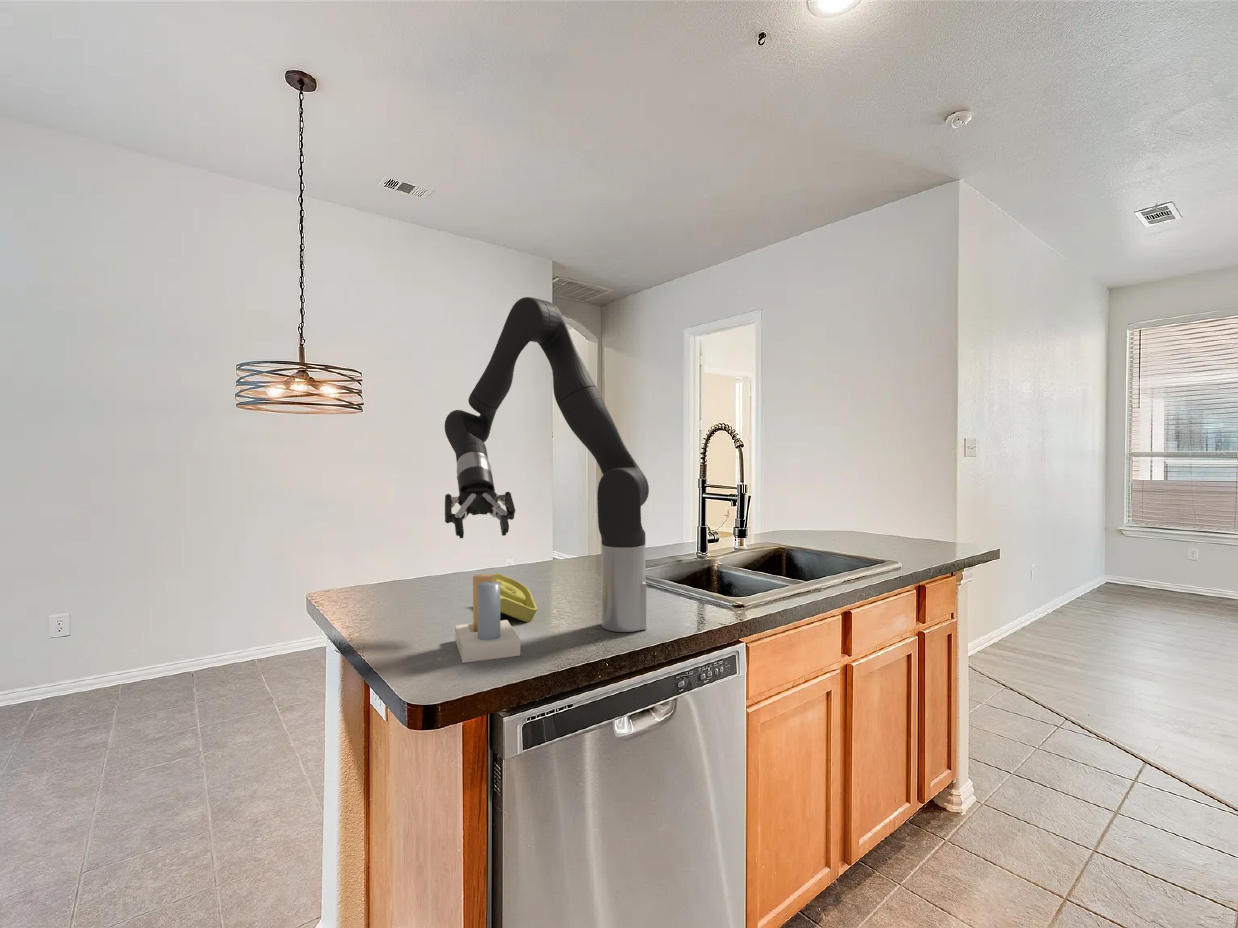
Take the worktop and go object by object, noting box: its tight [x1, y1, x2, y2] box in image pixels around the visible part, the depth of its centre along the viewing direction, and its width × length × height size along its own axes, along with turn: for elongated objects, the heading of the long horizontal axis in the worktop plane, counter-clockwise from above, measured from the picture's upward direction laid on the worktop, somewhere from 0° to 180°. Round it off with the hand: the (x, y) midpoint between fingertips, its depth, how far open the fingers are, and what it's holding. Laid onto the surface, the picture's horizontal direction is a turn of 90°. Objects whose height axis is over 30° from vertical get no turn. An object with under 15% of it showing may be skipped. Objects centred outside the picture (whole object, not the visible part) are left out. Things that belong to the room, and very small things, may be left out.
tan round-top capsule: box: [472, 573, 494, 632], centre depth 111 cm, size 4×4×12 cm
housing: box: [454, 582, 521, 664], centre depth 108 cm, size 13×10×13 cm
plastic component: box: [493, 573, 538, 623], centre depth 133 cm, size 20×7×10 cm
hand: (483, 534), depth 118 cm, fingers open, 8 cm apart
